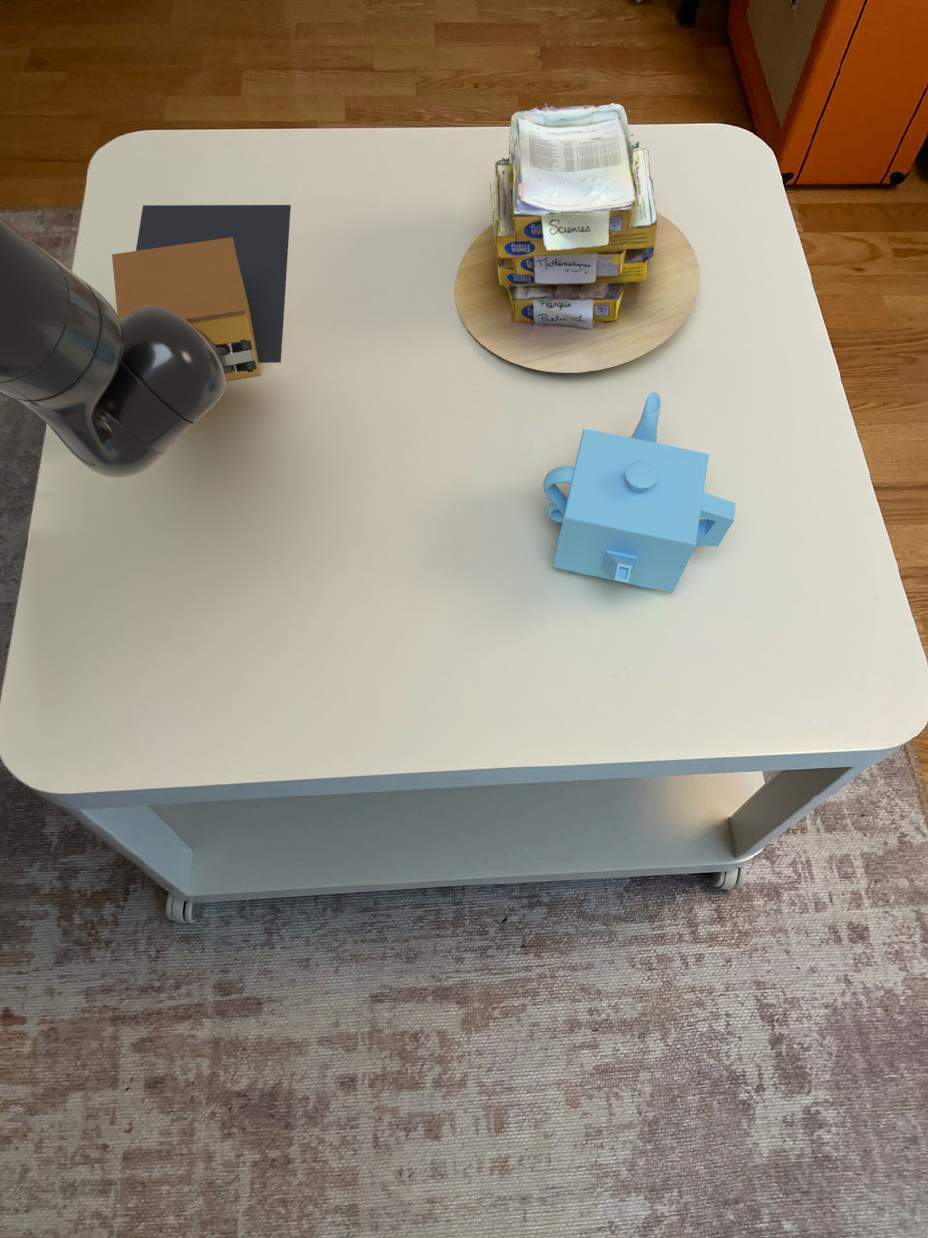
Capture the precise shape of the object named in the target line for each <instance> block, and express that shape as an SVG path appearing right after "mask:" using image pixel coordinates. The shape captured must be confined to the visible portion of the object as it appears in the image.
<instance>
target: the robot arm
mask: <svg viewBox="0 0 928 1238" xmlns="http://www.w3.org/2000/svg"><path fill="white" fill-rule="evenodd" d="M254 360H255V358H254V353H253V349H252V344H251V340H248V341H246V339H243V340H240V342H232V343H223V344H215V343H213V342H212V341H211V340H210V339H209V338H208V337H207V336H206V335H205V334H204V333H203V332H201V331H200V330H198V329H197V328H195V327H194V326H193V325H192V324H190V323H189V322H188V321H186V320H185V319H184V318H182V317H181V316H179V315H177V314H176V313H174V312H172V311H170V310H167V309H165V308H162V307H159V306H153V305H149V306H143V307H140V308H138V309H136V310H134V311H133V312H131V313H129V314H128V315H127V316H125V317H124V318H123V319H122V320H121V321H120V320H119V318H118V315H117V311H116V310H115V309H114V307H113V306H112V305H111V303H110V302H109V301H108V300H107V299H106V297H104V296H103V295H102V294H101V293H100V292H99V291H98V290H96V289H95V288H94V287H93V286H91V284H89V283H88V282H86V281H85V280H84V279H82V278H81V277H79V275H77V274H76V273H75V272H73V271H71V269H69V268H68V267H67V266H66V265H64V264H63V263H62V262H60V261H58V260H57V259H56V258H54V257H53V256H52V255H50V253H48V252H47V251H46V250H44V249H43V248H41V247H40V246H39V245H37V244H36V243H34V242H33V241H32V240H31V239H29V238H28V237H26V236H25V234H22V233H21V232H20V231H18V230H17V229H16V228H15V227H13V226H12V225H10V223H8V222H7V221H6V220H4V219H3V218H2V217H1V216H0V393H1V394H3V395H6V396H8V397H9V398H12V399H14V400H16V401H18V402H19V403H21V404H22V405H24V406H25V407H26V408H28V409H30V410H31V411H32V412H33V413H34V414H36V415H37V416H38V417H39V418H40V419H41V420H42V421H44V422H45V423H46V425H48V427H50V429H51V430H52V432H53V433H55V435H56V436H57V438H58V439H59V440H60V441H61V442H62V444H63V445H64V446H65V447H66V448H67V449H68V450H69V452H70V453H71V454H72V455H73V456H74V457H75V458H76V459H78V460H79V461H80V462H81V464H83V465H84V466H85V467H86V468H88V469H90V470H92V471H93V472H95V473H97V474H98V475H102V476H104V477H110V478H127V477H133V476H136V475H138V474H140V473H143V472H144V471H146V470H147V469H148V468H150V467H151V466H152V465H154V464H155V463H156V462H157V460H159V459H160V458H161V457H162V456H164V454H165V453H167V451H168V450H169V449H171V448H172V446H174V444H176V443H177V442H178V441H179V440H180V439H181V438H182V437H183V436H184V435H185V434H186V433H187V432H188V431H190V429H192V428H193V427H194V426H195V425H196V423H198V422H199V421H200V420H202V418H204V416H206V415H207V414H208V413H209V412H210V411H211V410H212V409H213V407H214V406H216V405H217V403H219V401H220V400H221V398H222V397H223V396H224V394H225V392H226V386H227V380H226V379H225V375H226V374H228V373H230V372H233V373H235V372H242V371H247V372H253V370H255V369H257V367H256V362H255V361H254Z"/></svg>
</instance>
